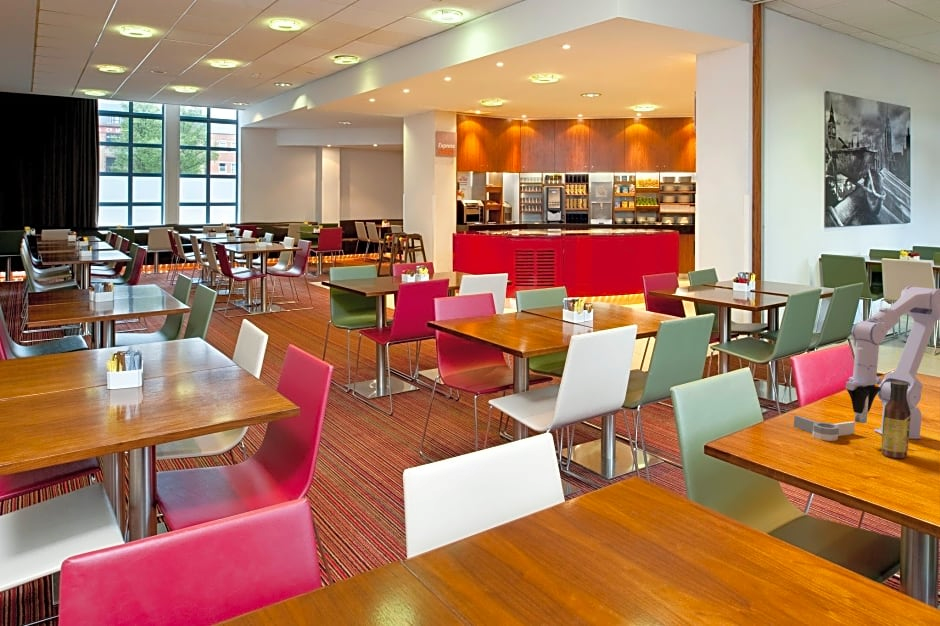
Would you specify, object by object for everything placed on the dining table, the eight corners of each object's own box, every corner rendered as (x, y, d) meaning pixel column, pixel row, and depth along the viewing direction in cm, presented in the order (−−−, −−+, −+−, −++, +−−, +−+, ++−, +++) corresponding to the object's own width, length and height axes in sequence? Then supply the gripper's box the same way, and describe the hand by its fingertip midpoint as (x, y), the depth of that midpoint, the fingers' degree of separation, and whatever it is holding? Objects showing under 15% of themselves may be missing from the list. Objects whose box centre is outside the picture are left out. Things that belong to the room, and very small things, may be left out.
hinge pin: (862, 420, 205) (865, 392, 204) (868, 423, 202) (871, 395, 201) (852, 420, 205) (854, 392, 204) (858, 423, 202) (860, 395, 201)
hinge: (826, 441, 205) (827, 429, 205) (786, 427, 218) (787, 416, 218) (862, 436, 211) (863, 424, 210) (821, 423, 224) (822, 412, 223)
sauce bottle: (911, 460, 191) (918, 386, 188) (885, 458, 192) (892, 385, 189) (901, 452, 197) (908, 380, 194) (876, 450, 198) (883, 379, 195)
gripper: (865, 359, 209) (861, 404, 211) (836, 364, 201) (832, 411, 203) (890, 363, 203) (886, 410, 205) (861, 369, 195) (857, 418, 197)
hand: (861, 411), depth 203 cm, fingers closed on hinge pin, 3 cm apart
